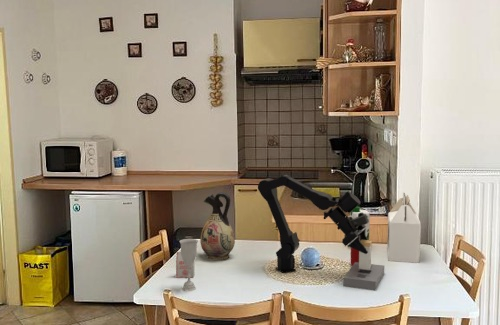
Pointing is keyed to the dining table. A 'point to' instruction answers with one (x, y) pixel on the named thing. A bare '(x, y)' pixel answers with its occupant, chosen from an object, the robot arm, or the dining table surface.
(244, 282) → the dining table surface
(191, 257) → the chalice
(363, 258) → the plug
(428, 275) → the dining table surface
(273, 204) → the robot arm
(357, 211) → the milk carton
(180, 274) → the white red printed box
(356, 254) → the beverage can
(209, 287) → the dining table surface
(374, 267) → the grey socket base
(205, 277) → the dining table surface
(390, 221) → the gable box
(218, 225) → the ceramic jug
